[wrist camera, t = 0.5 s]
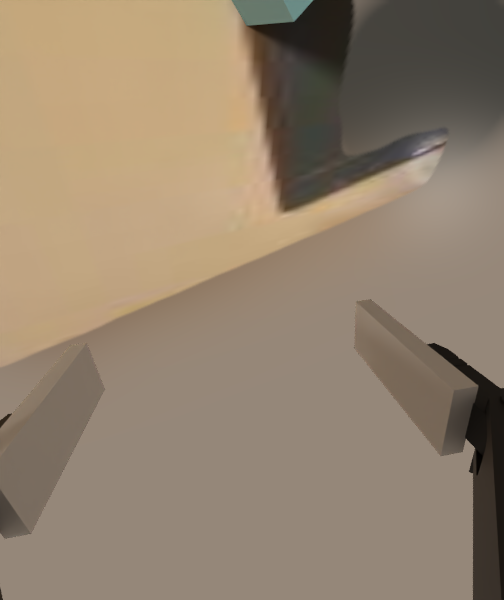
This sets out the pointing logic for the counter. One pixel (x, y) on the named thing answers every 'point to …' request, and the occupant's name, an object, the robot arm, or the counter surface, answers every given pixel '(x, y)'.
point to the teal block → (270, 10)
